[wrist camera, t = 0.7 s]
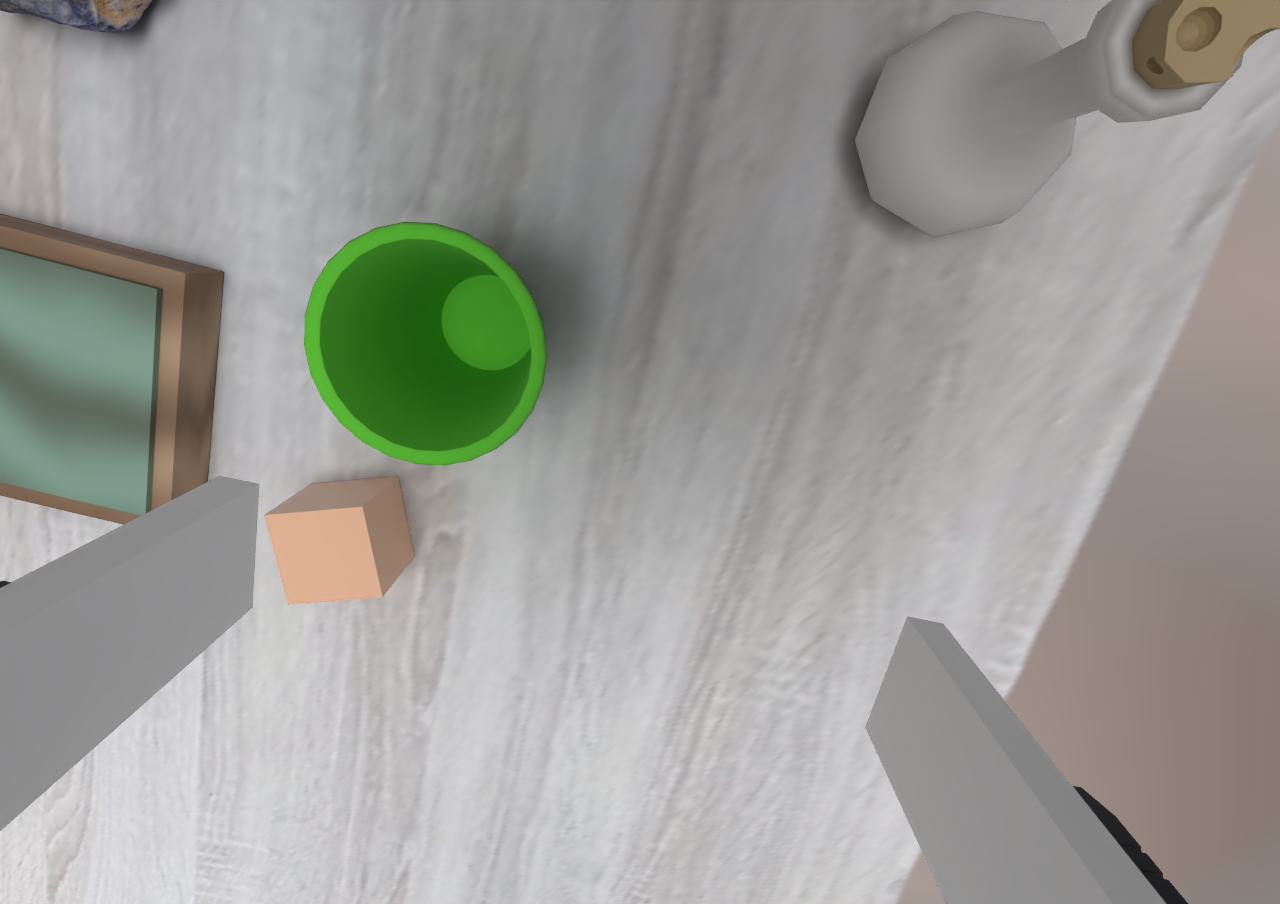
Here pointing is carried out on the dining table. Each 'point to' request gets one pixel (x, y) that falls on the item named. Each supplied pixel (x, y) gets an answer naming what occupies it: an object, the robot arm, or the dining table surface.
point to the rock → (83, 12)
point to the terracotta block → (341, 540)
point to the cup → (425, 343)
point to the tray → (103, 372)
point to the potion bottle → (1034, 99)
